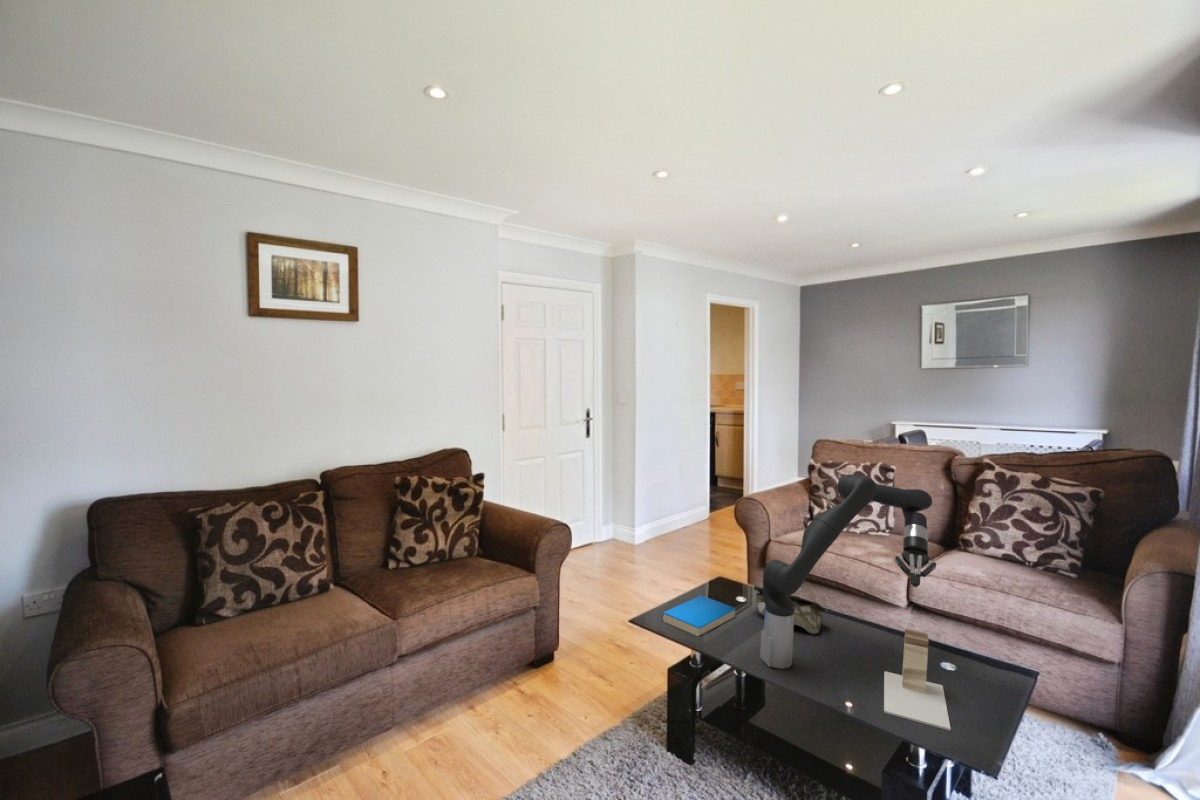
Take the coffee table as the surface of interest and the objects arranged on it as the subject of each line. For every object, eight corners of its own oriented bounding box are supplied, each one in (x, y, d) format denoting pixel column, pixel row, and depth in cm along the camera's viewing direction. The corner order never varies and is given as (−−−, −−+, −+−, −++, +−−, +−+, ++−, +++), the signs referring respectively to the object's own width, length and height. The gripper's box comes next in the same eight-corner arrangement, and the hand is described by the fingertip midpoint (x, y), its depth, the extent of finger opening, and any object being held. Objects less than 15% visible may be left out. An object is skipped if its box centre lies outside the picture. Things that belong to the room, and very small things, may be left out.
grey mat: (950, 730, 149) (950, 728, 149) (884, 712, 156) (884, 710, 156) (942, 687, 170) (942, 685, 170) (884, 672, 177) (884, 671, 177)
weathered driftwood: (751, 623, 221) (739, 603, 213) (762, 594, 228) (751, 575, 220) (822, 645, 202) (812, 625, 194) (831, 614, 209) (822, 593, 201)
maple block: (925, 693, 165) (928, 641, 164) (902, 687, 168) (905, 636, 167) (924, 683, 171) (927, 633, 170) (902, 678, 173) (905, 628, 173)
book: (736, 608, 216) (699, 626, 198) (735, 618, 216) (699, 638, 198) (699, 594, 228) (662, 611, 210) (699, 604, 228) (661, 622, 210)
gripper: (894, 532, 196) (893, 576, 186) (938, 538, 190) (939, 584, 179) (893, 542, 201) (892, 587, 190) (936, 549, 195) (937, 595, 184)
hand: (915, 585), depth 185 cm, fingers closed
